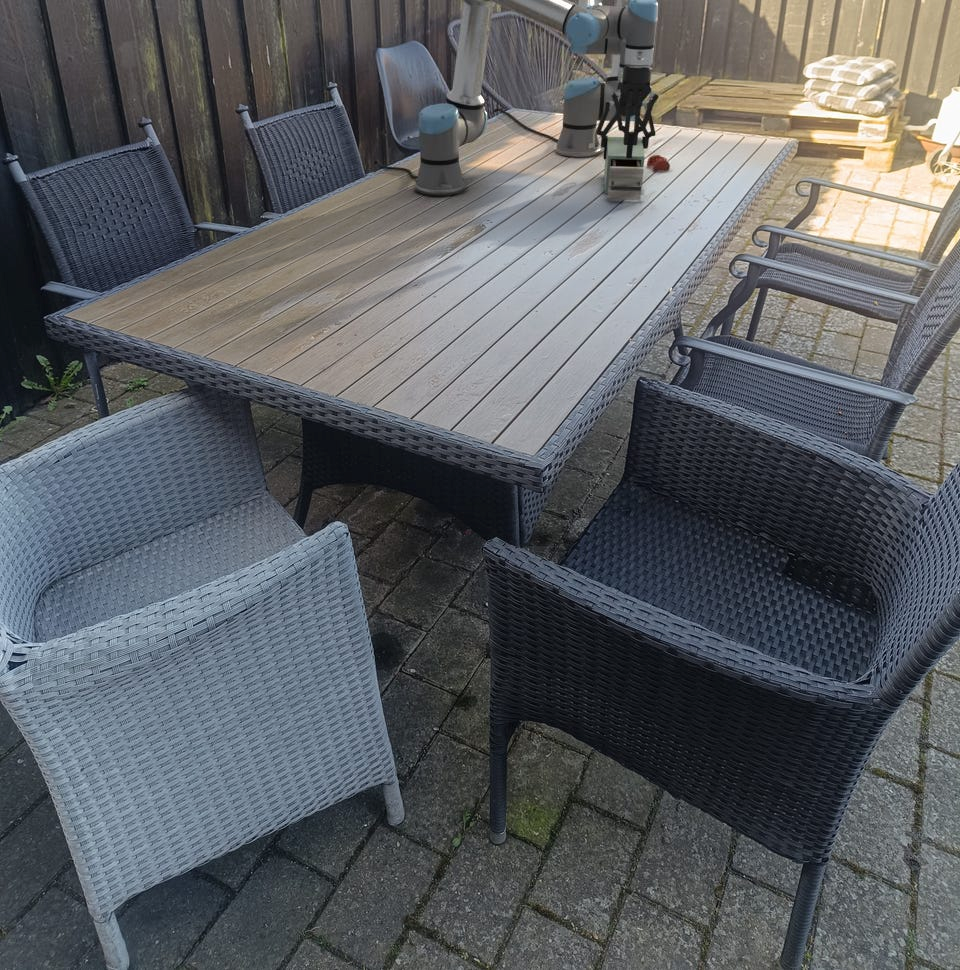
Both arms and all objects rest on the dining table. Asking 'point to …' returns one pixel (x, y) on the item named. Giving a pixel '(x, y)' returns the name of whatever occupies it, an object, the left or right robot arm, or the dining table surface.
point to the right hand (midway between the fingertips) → (623, 158)
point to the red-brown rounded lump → (658, 163)
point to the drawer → (625, 179)
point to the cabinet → (621, 154)
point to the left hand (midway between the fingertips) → (628, 156)
